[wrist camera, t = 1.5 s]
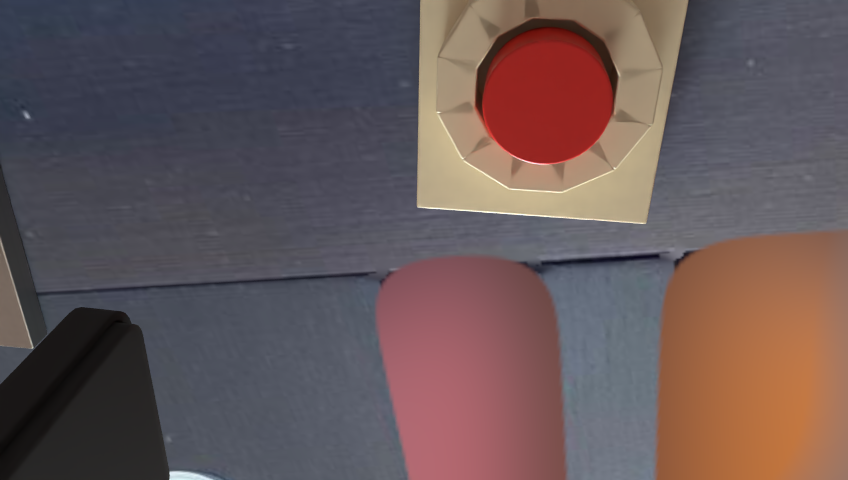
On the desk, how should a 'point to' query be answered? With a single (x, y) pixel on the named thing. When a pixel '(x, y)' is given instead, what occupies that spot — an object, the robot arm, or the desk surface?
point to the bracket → (16, 285)
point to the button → (547, 96)
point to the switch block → (541, 183)
